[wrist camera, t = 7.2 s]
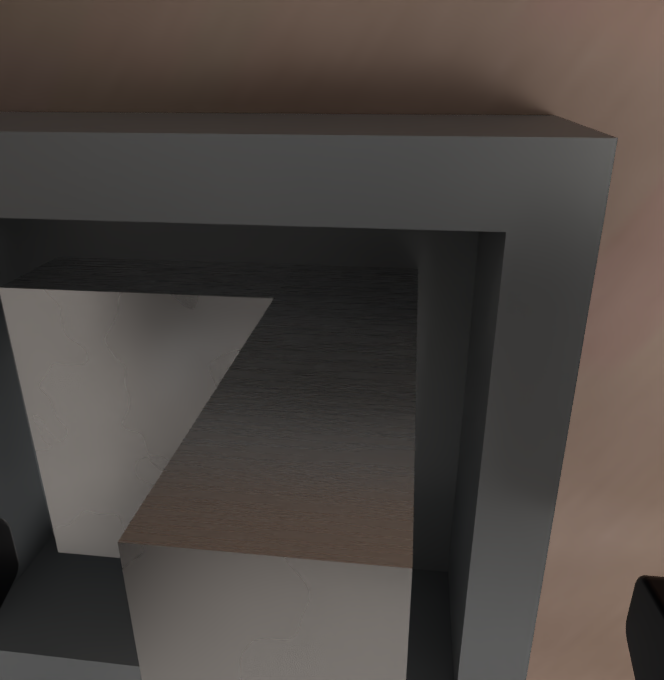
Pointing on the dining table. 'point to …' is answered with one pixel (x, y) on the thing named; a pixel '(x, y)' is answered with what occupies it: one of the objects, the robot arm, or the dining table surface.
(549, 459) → the bin
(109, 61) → the dining table surface
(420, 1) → the dining table surface
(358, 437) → the bracket
